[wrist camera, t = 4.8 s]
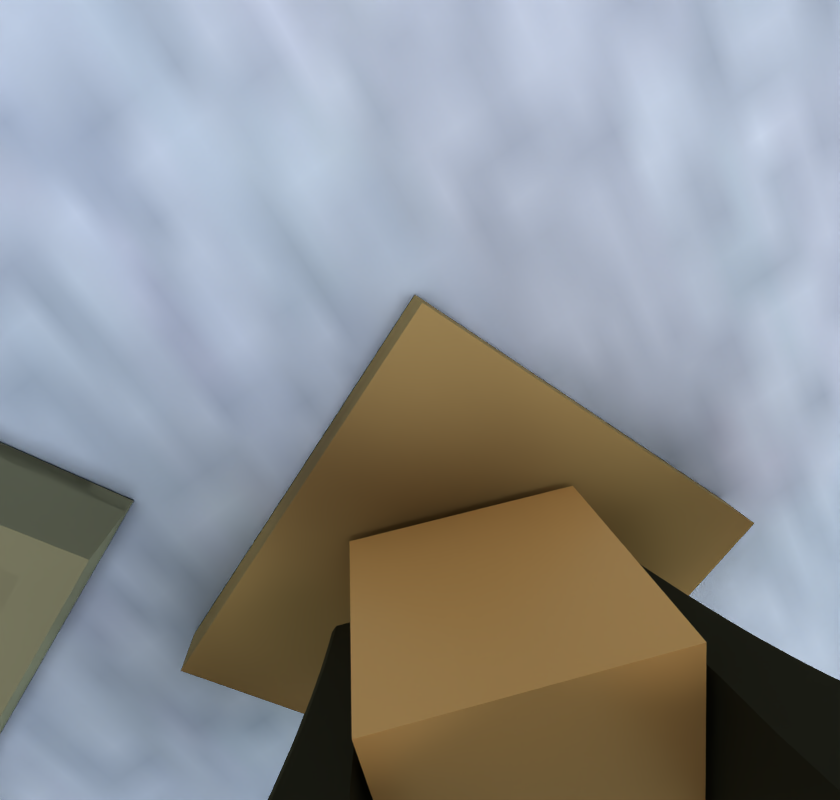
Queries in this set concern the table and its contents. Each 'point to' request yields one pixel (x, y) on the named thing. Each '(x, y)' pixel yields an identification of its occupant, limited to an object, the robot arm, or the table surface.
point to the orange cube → (521, 662)
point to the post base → (437, 496)
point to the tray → (44, 559)
